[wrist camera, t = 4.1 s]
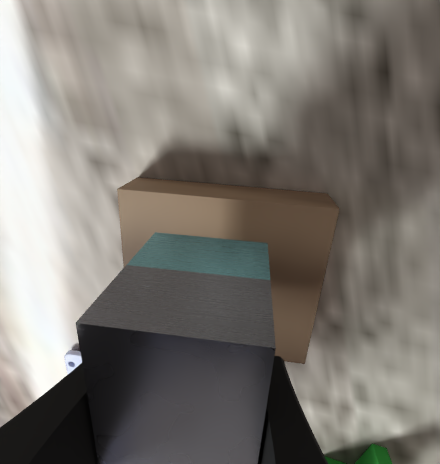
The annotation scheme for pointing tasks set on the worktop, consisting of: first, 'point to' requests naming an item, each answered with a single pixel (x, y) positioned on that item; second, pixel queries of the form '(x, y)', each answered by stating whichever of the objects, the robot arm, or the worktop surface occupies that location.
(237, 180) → the worktop surface
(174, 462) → the block
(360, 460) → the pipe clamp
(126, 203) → the tan flat block
